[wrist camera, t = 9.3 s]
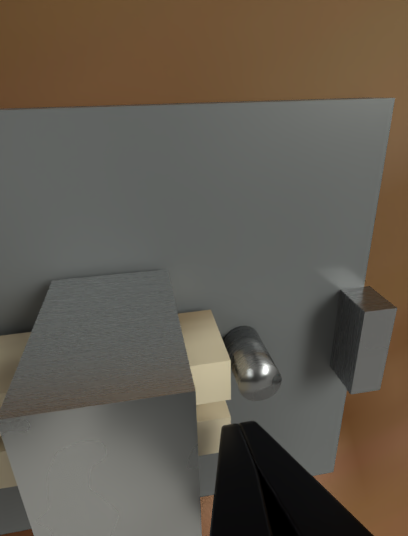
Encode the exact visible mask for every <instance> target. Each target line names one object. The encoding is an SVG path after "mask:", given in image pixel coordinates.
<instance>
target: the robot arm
mask: <svg viewBox="0 0 408 536" xmlns="http://www.w3.org/2000/svg"><path fill="white" fill-rule="evenodd" d="M210 536H374V535H373V534H371V533H370V532H369V531H368V530H367V529H366V528H365V527H364V526H363V525H362V524H361V523H360V522H359V521H358V520H357V519H356V518H355V517H354V516H353V515H352V514H351V513H350V512H349V511H348V510H347V509H346V508H345V507H344V506H343V505H342V504H341V503H340V502H339V501H337V500H336V499H335V498H334V497H333V496H332V495H331V494H330V493H329V492H328V491H327V490H326V489H325V488H324V487H323V486H322V485H321V484H320V483H319V482H318V481H317V480H316V479H315V478H314V477H313V476H312V475H311V474H310V473H309V472H308V471H307V470H306V469H305V468H304V467H302V466H301V465H300V464H299V463H298V462H297V461H296V460H295V459H294V458H293V457H292V456H291V455H290V454H289V453H288V452H287V451H286V450H285V449H284V448H283V447H282V446H281V445H280V444H279V443H278V442H277V441H276V440H275V439H274V438H273V437H272V436H271V435H270V434H269V433H267V432H266V431H265V430H264V429H263V428H262V427H261V426H260V425H259V424H258V423H257V422H256V421H246V422H240V423H239V424H237V423H234V424H228V425H223V426H222V428H221V435H220V445H219V454H218V463H217V472H216V481H215V491H214V500H213V509H212V518H211V528H210Z"/></svg>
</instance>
